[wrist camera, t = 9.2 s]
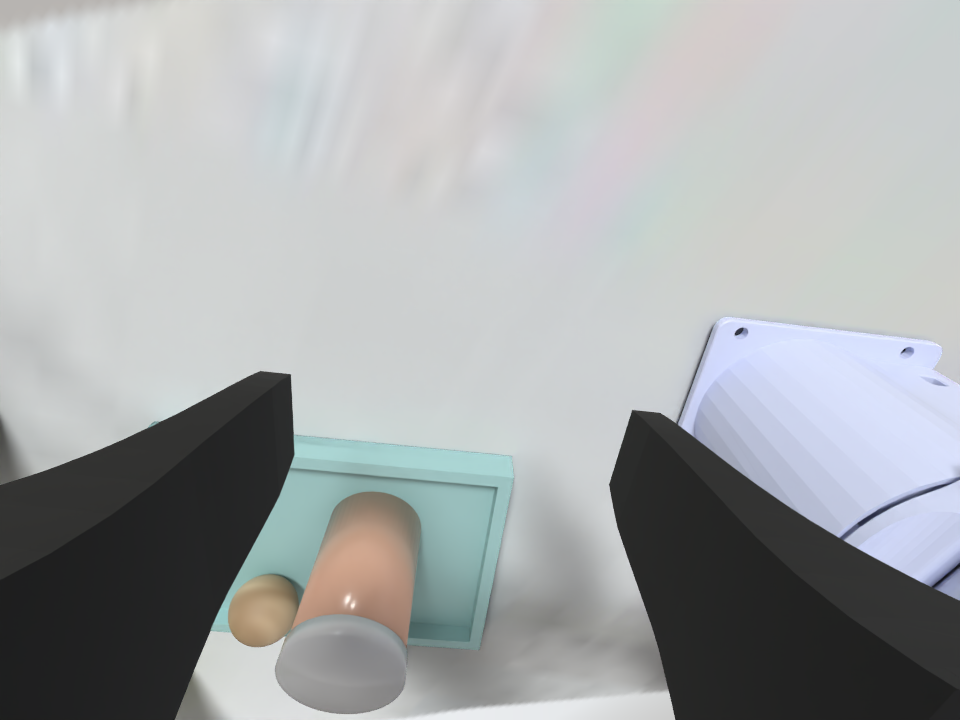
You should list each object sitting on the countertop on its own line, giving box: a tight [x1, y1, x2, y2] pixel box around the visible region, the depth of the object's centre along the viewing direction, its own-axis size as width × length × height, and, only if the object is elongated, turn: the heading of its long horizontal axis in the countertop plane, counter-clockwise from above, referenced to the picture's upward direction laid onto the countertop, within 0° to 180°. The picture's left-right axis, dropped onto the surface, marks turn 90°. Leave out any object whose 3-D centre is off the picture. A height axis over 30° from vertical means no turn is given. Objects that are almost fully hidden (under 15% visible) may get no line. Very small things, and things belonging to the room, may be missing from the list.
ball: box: [228, 574, 299, 647], centre depth 25 cm, size 3×3×3 cm
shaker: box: [275, 491, 421, 714], centre depth 21 cm, size 5×5×7 cm
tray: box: [148, 422, 514, 650], centre depth 25 cm, size 16×12×2 cm
